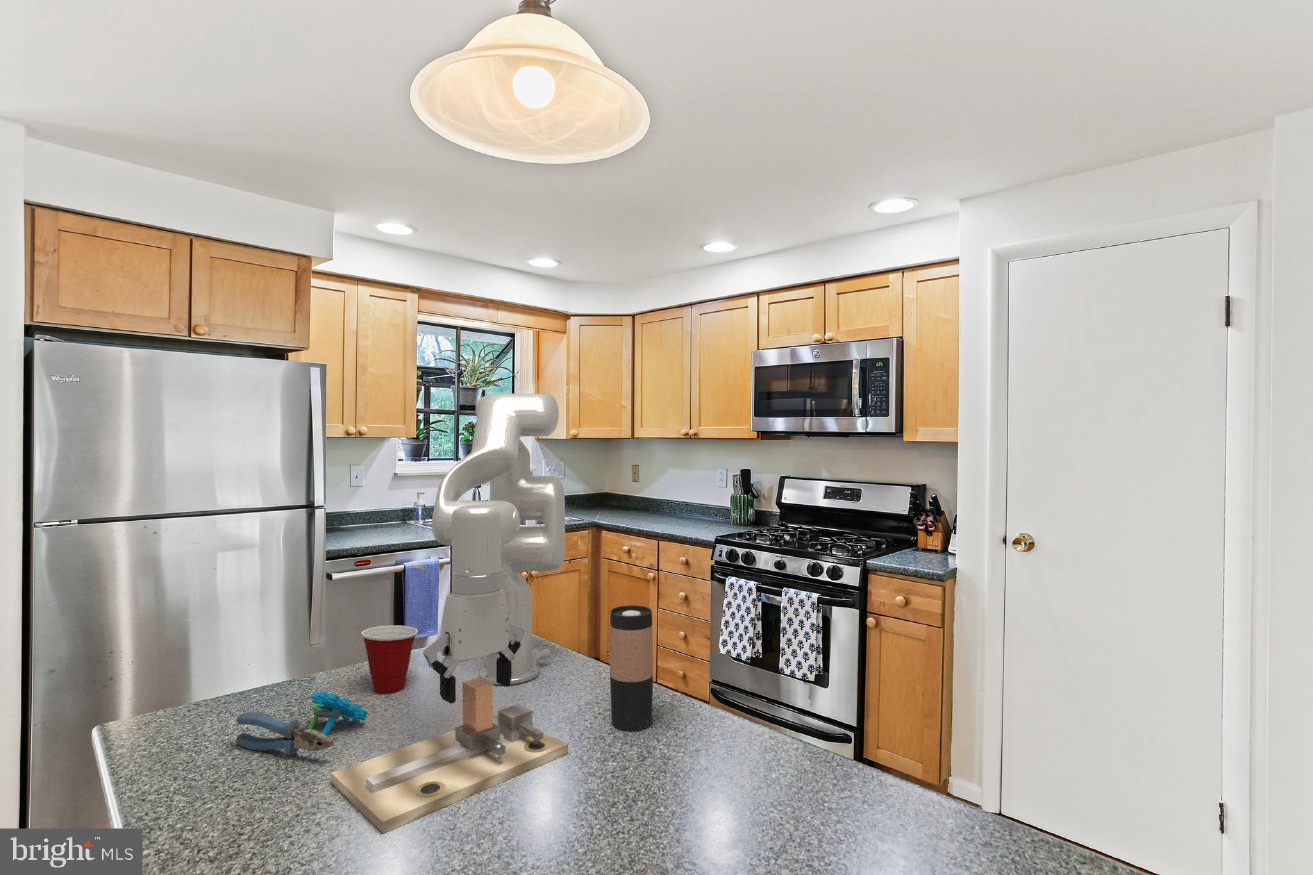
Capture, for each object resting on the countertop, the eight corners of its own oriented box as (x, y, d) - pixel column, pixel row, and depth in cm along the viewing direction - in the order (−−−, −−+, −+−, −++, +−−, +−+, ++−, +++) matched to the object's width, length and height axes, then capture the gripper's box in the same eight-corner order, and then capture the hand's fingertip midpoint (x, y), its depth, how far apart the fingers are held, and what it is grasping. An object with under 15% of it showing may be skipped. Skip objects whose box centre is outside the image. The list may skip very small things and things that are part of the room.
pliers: (336, 761, 105) (336, 724, 105) (325, 768, 103) (325, 729, 103) (245, 741, 112) (245, 706, 112) (233, 747, 110) (233, 711, 110)
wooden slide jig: (506, 720, 120) (506, 689, 120) (568, 753, 107) (567, 719, 107) (331, 782, 99) (331, 745, 99) (382, 833, 86) (382, 790, 86)
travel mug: (601, 722, 119) (601, 610, 119) (634, 710, 124) (634, 602, 124) (628, 736, 113) (628, 618, 113) (662, 723, 118) (661, 610, 118)
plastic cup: (427, 688, 135) (427, 629, 135) (373, 703, 128) (373, 641, 128) (405, 674, 143) (405, 619, 143) (353, 688, 136) (352, 629, 136)
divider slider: (483, 735, 109) (483, 674, 109) (516, 754, 103) (515, 690, 103) (455, 745, 106) (455, 683, 106) (487, 766, 99) (487, 699, 99)
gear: (381, 714, 119) (342, 688, 113) (363, 748, 115) (322, 723, 109) (339, 712, 124) (300, 686, 118) (321, 744, 120) (280, 719, 114)
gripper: (510, 573, 114) (510, 673, 114) (413, 588, 102) (413, 701, 102) (535, 579, 109) (536, 684, 109) (436, 596, 97) (436, 714, 96)
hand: (476, 692), depth 105 cm, fingers open, 9 cm apart
